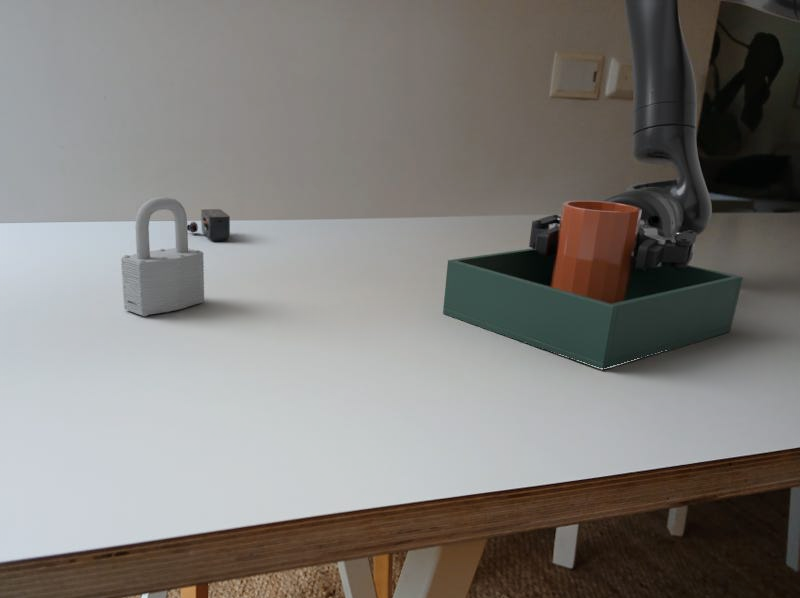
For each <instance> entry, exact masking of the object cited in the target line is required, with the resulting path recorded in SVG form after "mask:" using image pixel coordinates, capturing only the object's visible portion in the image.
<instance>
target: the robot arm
mask: <svg viewBox="0 0 800 598" xmlns="http://www.w3.org/2000/svg"><path fill="white" fill-rule="evenodd" d="M718 1H721V2H728V3H729V2H730V3H735V4H740V5H742V6H747V7H749V8H751V9H754V10H757V11H759V12H761V13H764V14H768V15H771V16H773V17H778V18H780V19H785V20H789V21H791V22H796V23H799V24H800V0H718ZM623 3H624V11H625V19H626V25H627V32H628V41H629V50H630V58H631V59H630V60H631V70H632V136H631V137H632V138H631V139H632V144H631V147H632V148H631V150H632V155H633V157H634V159H635V160H636V161H638V162H640V163H643V164H649V165H658V166H668V167H671V168H673V169H674V170H675V171H676V174H677V178H674V179H664V180H656V181H655V180H654V181H648V182H647V181H645V182H639V183H633V184H629V185H627V186H624V188H622V189H621V190H620V192H619V193H618V194H616V195H613V196H611V197H609V198H606V199H605V200H602V202H612V203H620V204H626V205H631V206H635V207H639V208H640V209H642V212H641V218H640V223H639V229H638V234H637V240H636V245H635V251H634V256H633V261H632V263H633V264H635V271H641V272H644V271H646V270H647V269H648V268H653V267H655V268H657V267H662V265H663V262H671V267H673V268H674V269H685V268H686V266H687V265H690V262H691V261H692V260H693V256H694V250H695V245H696V240H697V236H699V235H701V234H702V233H703V232H704V231H705V230H706V228H707V227H708V225H709V224H710V221H711V218H712V215H713V214H712V213H713V206H712V201H711V196H710V193H709V190H708V187H707V184H706V181H705V177H704V175H703V171H702V167H701V164H700V159H699V154H698V146H697V143H698V142H697V115H698V114H697V112H698V110H697V109H698V107H697V106H698V104H697V103H698V95H697V85H696V84H697V83H696V76H695V71H694V68H693V64H692V60H691V57H690V54H689V50H688V48H687V44H686V41H685V40H686V39H685V37H684V33H683V29H682V23H681V18H680V11H679V0H623ZM560 220H561V215H558V214H552V215H548V216H545V217H542V218H539V219H536V220H532V221H531V228H530V235H529V243H528V247H529V248H530V249H531V248H533V249H535V251H538V252H539V256H540V257H546V258H547V257H549V256H551V255H553V254H555V253H556V247H557V241H558V234H559V227H560Z"/></svg>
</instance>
